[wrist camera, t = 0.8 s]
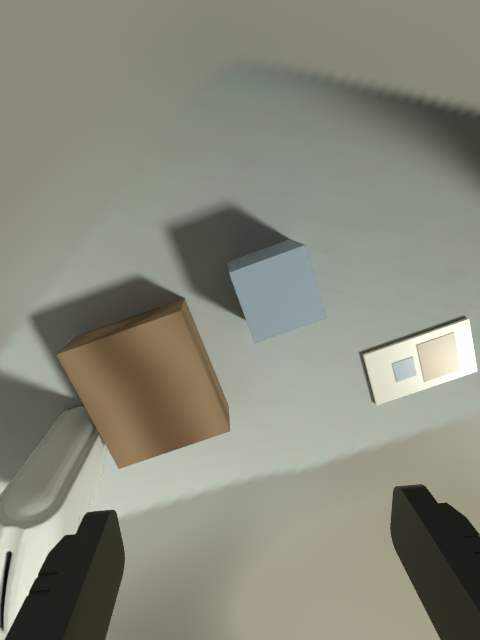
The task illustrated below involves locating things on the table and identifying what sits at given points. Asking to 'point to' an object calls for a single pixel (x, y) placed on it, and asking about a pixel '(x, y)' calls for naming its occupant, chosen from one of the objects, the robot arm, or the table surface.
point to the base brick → (147, 384)
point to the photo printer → (46, 504)
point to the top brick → (276, 289)
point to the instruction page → (421, 361)
